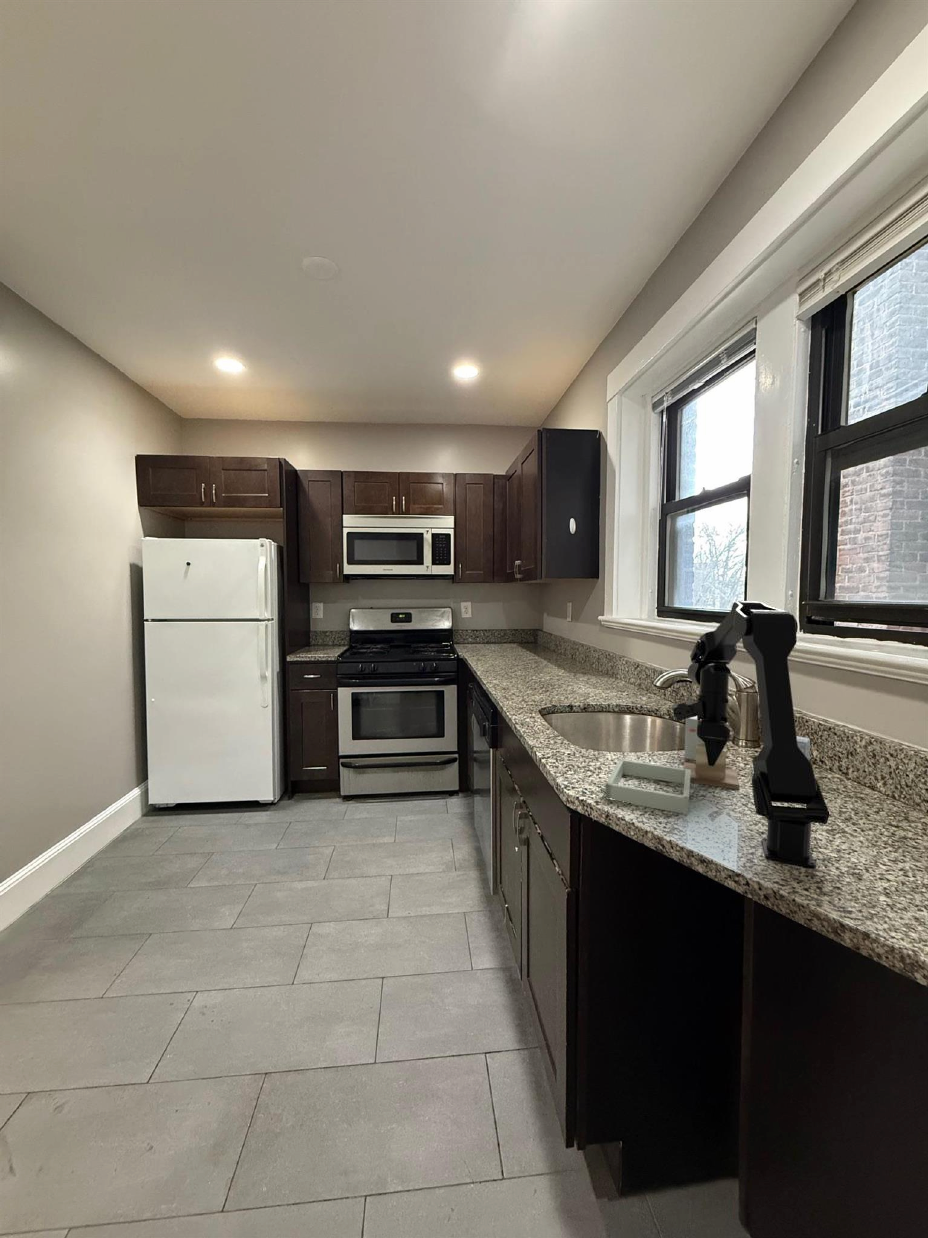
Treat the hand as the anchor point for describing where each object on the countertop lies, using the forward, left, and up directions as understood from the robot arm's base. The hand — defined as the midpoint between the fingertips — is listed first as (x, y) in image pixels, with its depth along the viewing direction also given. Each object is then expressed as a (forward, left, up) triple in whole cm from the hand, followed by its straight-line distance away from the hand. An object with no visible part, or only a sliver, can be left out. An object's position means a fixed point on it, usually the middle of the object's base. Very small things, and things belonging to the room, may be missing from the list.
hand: (710, 759), depth 114 cm
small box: (+15, +2, -4) cm, 15 cm away
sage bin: (-15, +12, -4) cm, 20 cm away
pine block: (0, 0, -3) cm, 3 cm away
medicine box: (+13, -16, -4) cm, 21 cm away
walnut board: (0, 0, -4) cm, 4 cm away
